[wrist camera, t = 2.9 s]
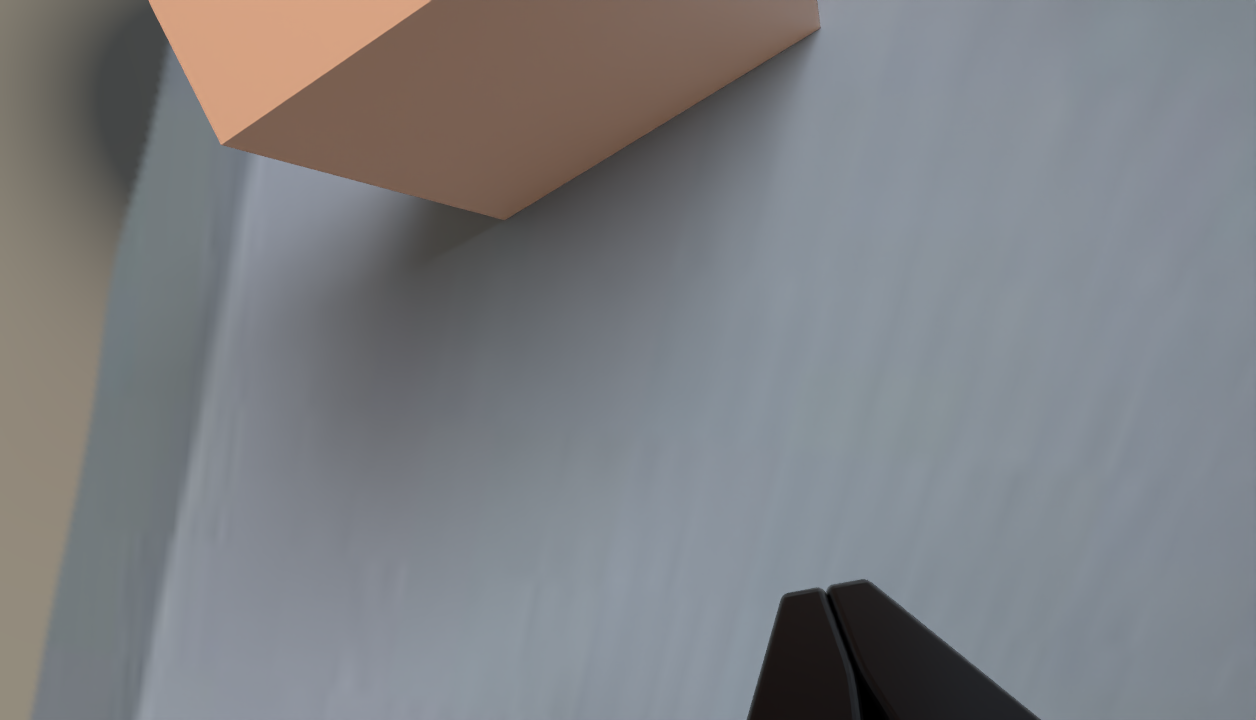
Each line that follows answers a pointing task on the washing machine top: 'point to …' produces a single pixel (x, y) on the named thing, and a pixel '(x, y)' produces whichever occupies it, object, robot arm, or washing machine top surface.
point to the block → (464, 82)
